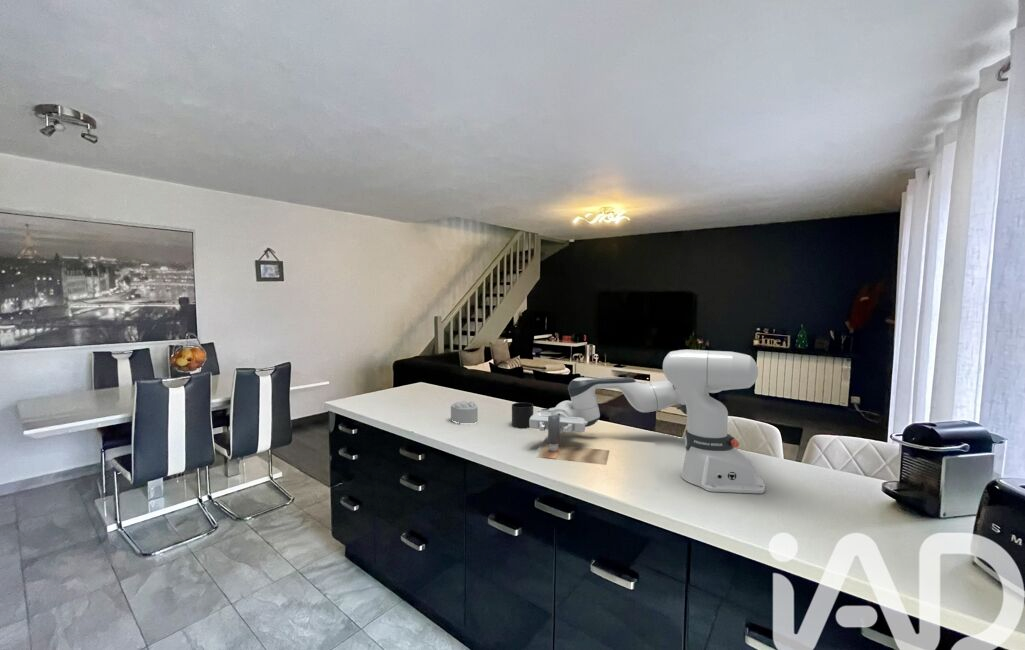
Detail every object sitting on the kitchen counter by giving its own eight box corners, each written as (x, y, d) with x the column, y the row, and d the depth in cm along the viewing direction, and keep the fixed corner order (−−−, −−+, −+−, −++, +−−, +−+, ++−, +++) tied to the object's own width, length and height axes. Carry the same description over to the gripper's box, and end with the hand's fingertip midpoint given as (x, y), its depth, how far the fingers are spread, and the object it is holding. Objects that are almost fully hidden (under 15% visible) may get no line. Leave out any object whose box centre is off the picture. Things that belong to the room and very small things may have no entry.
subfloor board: (609, 454, 150) (609, 449, 150) (606, 469, 137) (606, 463, 137) (545, 448, 157) (545, 443, 157) (536, 461, 143) (536, 456, 143)
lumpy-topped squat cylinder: (466, 416, 201) (466, 398, 200) (483, 422, 191) (483, 403, 191) (447, 420, 194) (447, 401, 194) (463, 426, 184) (463, 407, 184)
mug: (541, 423, 189) (541, 403, 188) (524, 429, 179) (524, 408, 179) (524, 419, 195) (524, 400, 194) (507, 425, 185) (507, 405, 185)
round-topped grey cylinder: (560, 449, 150) (560, 415, 149) (558, 453, 146) (558, 418, 146) (549, 448, 151) (549, 414, 151) (547, 452, 147) (547, 417, 147)
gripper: (588, 429, 158) (583, 441, 145) (534, 425, 164) (525, 435, 151) (588, 412, 157) (583, 422, 144) (534, 408, 163) (525, 418, 150)
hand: (553, 429), depth 147 cm, fingers open, 7 cm apart
